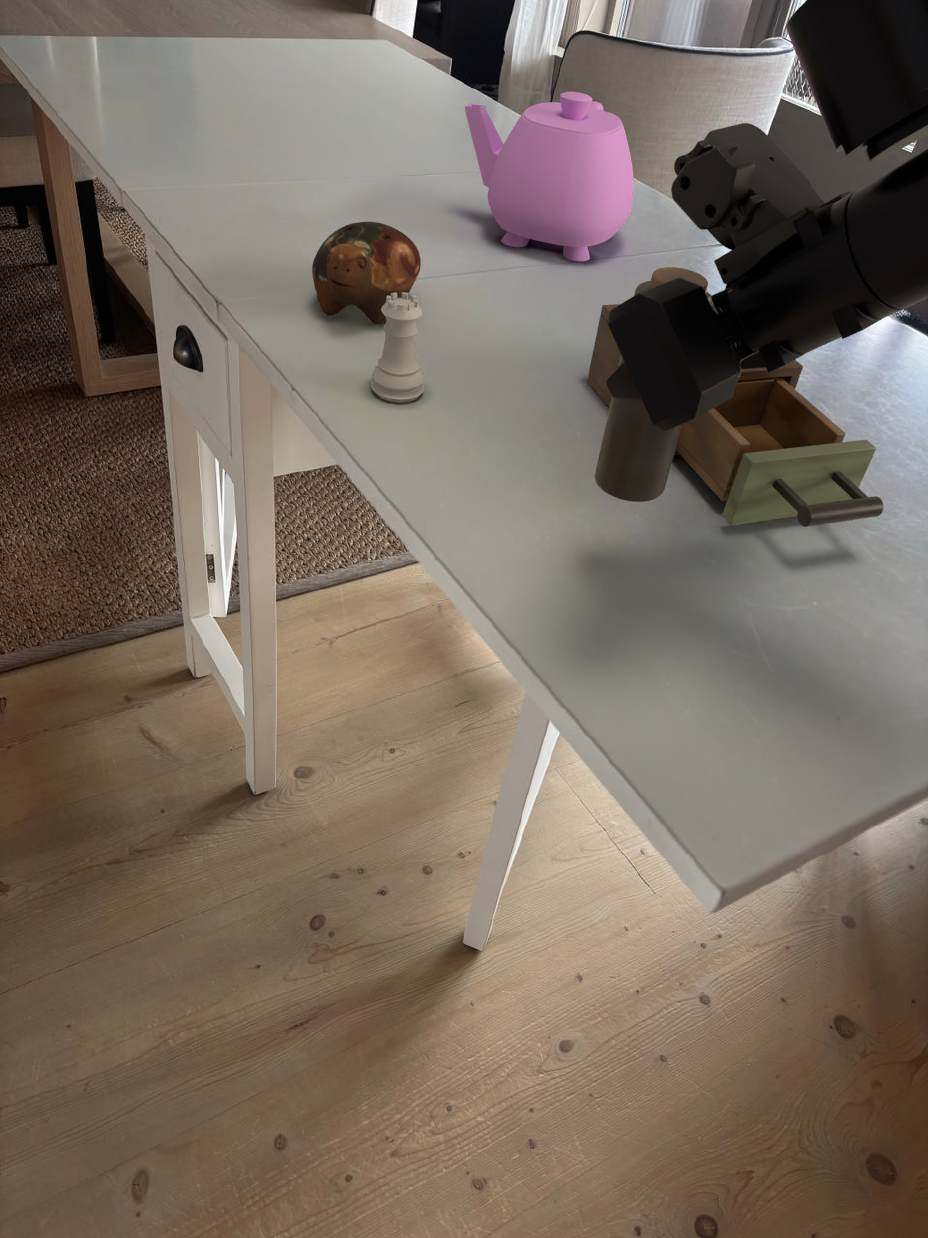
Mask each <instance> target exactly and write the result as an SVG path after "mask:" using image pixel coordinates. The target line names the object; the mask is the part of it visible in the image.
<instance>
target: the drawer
mask: <svg viewBox="0 0 928 1238" xmlns="http://www.w3.org/2000/svg"><path fill="white" fill-rule="evenodd" d="M846 434H847V433H846V432H845V431H844V430H843V429H842V428H841V427H839V426H838V424H836V423H835V422H834V421H832V420H831V419H830V418H829V417H828V416H827V415H826V414H825V413H824V412H822V411H821V410H820V409H818V408H817V407H816V406H815V405H814V404H813V403H812V402H810V400H808V399H807V398H806V397H805V396H803V395H802V394H801V393H800V392H799V391H798V390H797V389H796V388H795V389H794V388H793V387H792V386H791V385H789V384H788V383H787V382H786V381H785V380H784V379H782V378H781V377H774V378H762V379H750V380H739V381H737V384H736V387H735V391H734V394H733V397H732V398H731V399H729V400H727V401H725V402H723V403H722V404H720V405H718V406H716V407H715V408H713V409H711V410H709V411H707V412H706V413H704V414H702V415H700V416H698V417H697V418H695V419H693V420H691V421H688V422H686V423H684V424H683V425H682V428H681V432H680V435H679V439H678V443H677V446H676V450H677V451H678V453H679V454H680V455H679V456H681V457H682V458H683V459H684V460H685V462H686V463H687V464H688V465H689V466H690V467H691V469H692V470H693V471H694V472H695V473H696V474H697V475H698V476H699V477H700V478H701V479H702V481H704V483H705V484H706V485H707V486H708V487H709V488H710V489H711V490H712V492H713V493H714V494H715V496H717V497H718V498H719V500H720V501H721V502H724V501H725V505H724V509H723V511H722V515H721V517H722V518H723V519H724V520H725V521H726V522H727V524H728V525H729V526H737V525H744V524H752V523H758V522H760V523H761V522H766V521H772V520H773V521H774V520H780V519H787V518H795V517H797V521H798V523H799V525H800V526H801V527H804V528H807V527H808V528H809V527H813V526H815V527H816V526H820V525H821V526H822V525H827V524H835V523H842V522H849V521H855V520H856V521H857V520H862V519H870V518H877V517H879V516H881V515H882V514H883V512H884V503H883V502H884V501H883V500H882V499H881V497H879V496H877V495H874V496H868V495H867V494H866V493H865V492H864V491H862V489H861V488H860V486H861V483H862V482H863V480H864V477H865V475H866V472H867V470H868V469H869V466H870V464H871V461H872V459H873V457H874V454H875V453H876V451H877V447H876V446H875V445H873V444H872V443H871V442H870V441H869V440H868V439H860V440H851V441H844V439H845V437H846Z"/></svg>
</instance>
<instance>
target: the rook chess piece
mask: <svg viewBox="0 0 928 1238" xmlns="http://www.w3.org/2000/svg"><path fill="white" fill-rule="evenodd" d="M419 301H420V300H419V299H418V296H417V295H415V294H412V295H411V296H410V298H409V293H404V292H402V298H397V293H396V292H395V293H391V296H387V298H386V303H385V304H384V305H383V306H382V308H381V311H382V313H383V314H384V316H385V317H386V321H385V323H384V325H383V327H382V329H383V331H384V332H385V333H384V335H385V336H384V345H383V350H382V355H381V358H379V359H378V361H377V364H376V365H375V366H374V368H373V371H372V374H371V377H372V378H373V379H372V380H371V383H370V386H371V388H372V391H373V393H374V394H375V395H376V396H377V397H378V398H380V399H381V400H384V401H386V402H391V403H397V404H402V403H403V404H404V403H409V402H413V401H415V400H417V399H418V398H419V397H420V396H421V395H422V394H423V392H424V391H425V386H424V384H423V383H424V381H425V374H424V371H423V370H422V368H421V364H420V362H419V361H418V358H417V347H416V346H417V345H416V339H417V337H416V336H417V334H418V333H419V328H418V326H417V321H418V320H419V319H420V318H421V317H422V316H423V313H424V312H423V310H422V309H421V307H420V305H419Z"/></svg>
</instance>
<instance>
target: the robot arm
mask: <svg viewBox="0 0 928 1238" xmlns="http://www.w3.org/2000/svg"><path fill="white" fill-rule="evenodd" d="M785 29H786V32H787V34H788V37H789V40H790V42H791V44H792V47H793V49H794V52H795V54H796V57H797V59H798V61H799V64H800V66H801V69H802V71H803V74H804V76H805V78H806V81H807V84H808V86H809V89H810V91H811V93H812V96H813V98H814V100H815V104H816V105H817V108H818V110H819V113H820V115H821V118H822V120H823V122H824V125H825V128H826V130H827V132H828V135H829V138H830V141H831V143H832V145H833V148H834V150H835V152H836V153H841V152H844V154H845V156H850V155H852V154H854V153H856V152H857V151H859V150H861V149H863V148H865V150H864V153H865V156H866V158H867V161H868V163H869V164H871V163H875V162H877V161H880V160H881V159H884V158H886V157H888V156H890V155H892V154H893V153H896V152H898V151H899V150H902V149H903V148H905V147H908V146H909V145H911V144H914V142H916V141H919V140H920V139H922V138H923V137H926V136H927V135H928V0H805V1H804V2H803V3H802V4H801V5H800V6H799V7H798V8H797V9H796V10H795V11H794V13H793V14H792V15H791V16H790V18H789V19H788V21H787V22H786V25H785ZM673 171H674V173H675V175H676V177H675V178H674V180H673V182H672V184H671V188H670V192H671V198H672V201H674V203H675V204H676V205H677V207H679V208H680V209H681V210H682V212H684V214H685V215H686V216H687V217H688V218H689V220H691V221H692V223H693V224H694V225H695V226H696V228H698V229H699V230H703V231H705V230H706V231H708V232H709V233H710V235H711V236H712V237H713V238H714V239H715V240H716V241H717V242H718V243H719V244H720V245H722V247H724V248H725V249H726V248H727V249H728V250H729V251H728V252H726V253H725V254H722V255H721V256H720V257H718V258H716V259H715V260H713V262H714V265H715V267H716V270H717V272H718V274H719V277H720V279H721V281H722V283H723V284H724V285H725V288H724V290H721V291H719V292H716V293H714V294H711V295H712V296H710V297H708V298H707V296H706V294H705V292H704V289H703V287H702V286H700V285H697V284H695V283H693V282H690V281H688V280H685V279H683V278H680V277H678V278H676V279H673V280H671V281H668V282H666V283H663V284H661V285H658V286H656V287H653V288H651V289H648V290H645V291H643V292H640V293H638V294H636V295H635V296H634V295H633V296H631V297H630V298H628V299H627V300H625V301H623V302H621V303H619V304H620V305H618V306H617V307H615V308H613V309H612V310H610V313H609V320H608V326H609V329H610V331H611V333H612V335H613V338H614V340H615V342H616V344H617V346H618V349H619V351H620V353H621V355H622V357H623V360H624V362H623V363H622V364H621V365H620V366H619V367H618V368H617V369H616V370H615V371H614V372H613V373H612V374H611V375H610V376H609V377H608V378H607V380H606V385H607V387H608V390H609V392H610V394H611V396H612V397H613V398H618V399H628V400H638V401H643V404H644V406H645V408H646V410H647V413H648V415H649V417H650V419H651V421H652V424H653V425H654V426H656V427H658V428H659V429H661V430H663V431H664V432H665V431H668V430H670V429H672V428H674V427H677V426H679V425H681V424H684V423H686V422H688V421H691V420H693V419H695V418H697V417H698V416H700V415H702V414H704V413H706V412H707V411H709V410H711V409H713V408H715V407H716V406H718V405H720V404H722V403H723V402H725V401H727V400H729V399H731V398H732V397H733V394H734V391H735V387H736V384H737V381H738V378H739V377H740V375H741V369H754V368H766V369H767V371H768V373H769V372H771V371H773V370H775V369H778V368H780V367H782V366H784V365H786V364H788V363H790V362H792V361H793V360H797V359H799V358H801V357H802V356H805V355H806V354H807V353H809V352H812V351H814V350H816V349H818V348H821V347H823V346H826V345H827V344H829V343H833V342H834V341H836V340H838V339H840V338H841V339H842V340H845V339H847V338H848V337H851V336H853V335H856V334H857V333H860V332H862V331H865V330H866V329H867V328H869V327H871V326H873V325H874V324H877V323H878V322H880V321H882V320H883V319H885V318H887V317H889V316H891V315H893V314H896V313H898V312H900V311H903V310H905V309H906V308H909V307H911V306H915V305H916V304H919V303H920V302H922V301H924V300H927V299H928V148H927V149H925V150H923V151H921V152H920V153H918V154H916V155H914V156H913V157H911V158H910V159H907V160H906V161H904V162H902V163H900V164H899V165H898V166H896V167H894V168H892V169H890V170H889V171H887V172H886V173H884V174H882V175H881V176H879V177H877V178H875V179H874V180H872V181H870V182H869V183H867V184H864V185H863V186H861V187H860V188H858V189H856V190H855V191H853V192H851V191H846V192H844V193H840V194H839V195H837V196H835V197H834V198H831V199H830V200H829V201H827V202H825V201H824V200H823V198H821V196H820V195H819V193H818V192H817V191H816V190H815V188H813V186H812V184H811V182H810V180H809V178H808V177H807V176H806V175H805V174H804V173H803V171H801V170H800V168H798V166H797V165H796V164H795V163H794V162H793V161H792V160H791V159H790V158H789V156H787V154H786V153H784V151H783V150H782V149H781V148H780V147H779V146H778V145H777V144H776V142H774V141H773V139H771V138H770V136H768V135H767V133H765V131H763V130H762V129H761V128H760V127H758V126H757V125H754V124H752V123H749V122H742V123H738V124H734V125H729V126H725V127H722V128H717V129H714V130H710V131H708V133H707V134H706V136H705V137H704V139H703V140H698V141H697V143H696V144H695V145H694V147H693V148H692V149H691V150H690V151H689V152H687V153H686V154H685V153H684V154H683V155H679V156H678V157H677V158H676V159H675V161H674V163H673Z"/></svg>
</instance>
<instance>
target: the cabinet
mask: <svg viewBox="0 0 928 1238" xmlns="http://www.w3.org/2000/svg"><path fill="white" fill-rule="evenodd" d="M620 304H621V303H616V304H615V303H614V304H602V305H601V310H600V316H599V319H598V324H597V325H598V326H597V330H596V336H595V340H594V345H593V349H592V355H591V360H590V366H589V370H588V376H587V380H586V382H587V384H588V385H589V386H590V387H591V388H592V389H593V391H594V392H595V393H596V394H597V395H598V396H599V398H600V399H601V400H602V401H603V402H604V403H605V405H606V406H607V407H608V409H609V408H610V403H611V399H612V396H611V394H610V392H609V390H608V387H607V385H606V380H607V378H608V377H609V376H610V375H611V374H612V373H613V372H614V371H615V370H616V369H617V368H618V367H619V362H620V358H621V353H620V351H619V349H618V346H617V344H616V342H615V340H614V338H613V335H612V333H611V331H610V329H609V326H608V320H609V313H610V310H612V309H613V308H615V307H617V306H618V305H620ZM803 368H804V366H803V365H802V364H801V363H800V362H799V361H798V360H797V359H795V360H793V361H792V362H790V363H788V364H786V365H784V366H782V367H780V368H778V369H775V370H773V371H771V372H769V373H768V371H767V369H766V368H754V369H741V375H740V377H739V378H738V381H739V380H750V379H762V378H774V377H781V378H782V379H784V380H785V381H786V382H787V383H788V384H789V385H791V386H792V387H793V388H794V389H795V390H796V388H797V385H798V382H799V380H800V376H801V374H802V372H803ZM675 456H681V455H680V454H679V453H678V451H677V450H675V453H674V457H675Z"/></svg>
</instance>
